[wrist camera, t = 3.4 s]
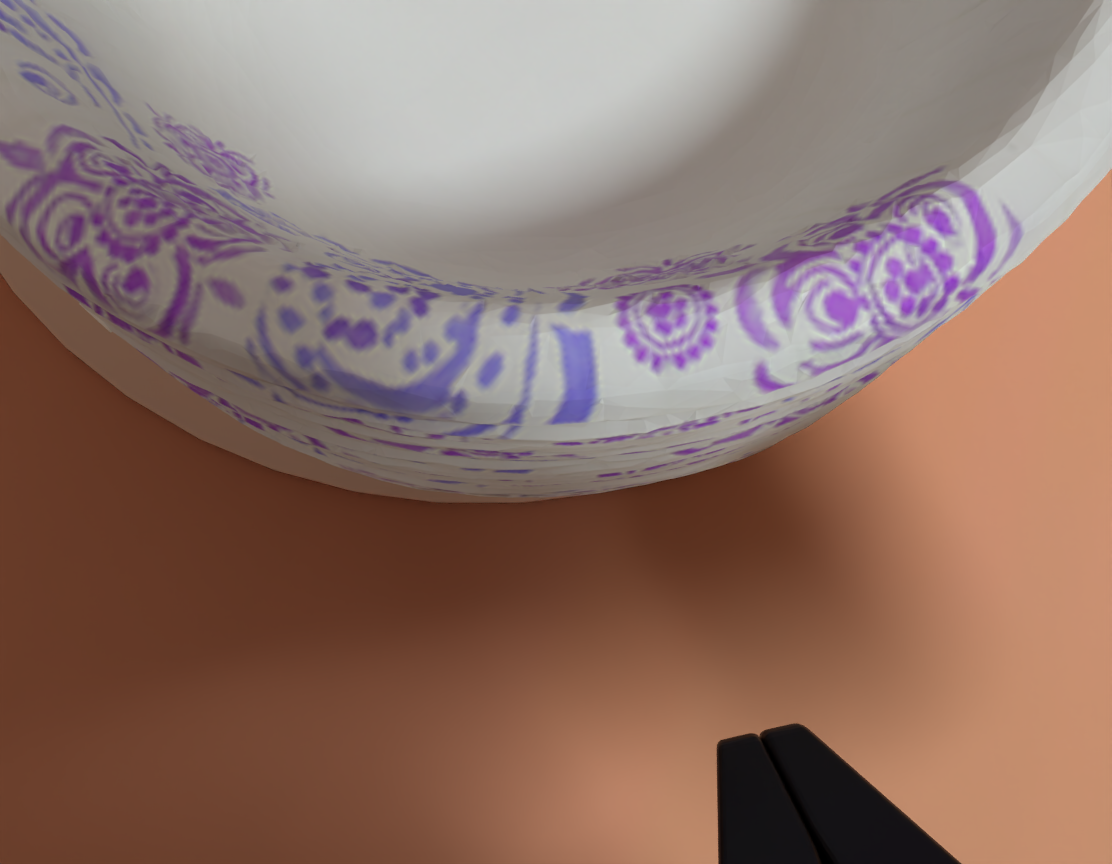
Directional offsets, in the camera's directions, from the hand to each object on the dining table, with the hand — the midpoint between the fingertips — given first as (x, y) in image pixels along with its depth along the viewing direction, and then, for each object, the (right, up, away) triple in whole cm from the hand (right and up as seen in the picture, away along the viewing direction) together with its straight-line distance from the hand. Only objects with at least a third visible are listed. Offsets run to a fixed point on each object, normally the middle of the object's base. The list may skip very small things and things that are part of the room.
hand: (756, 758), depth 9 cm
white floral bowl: (-2, +9, +9) cm, 13 cm away
